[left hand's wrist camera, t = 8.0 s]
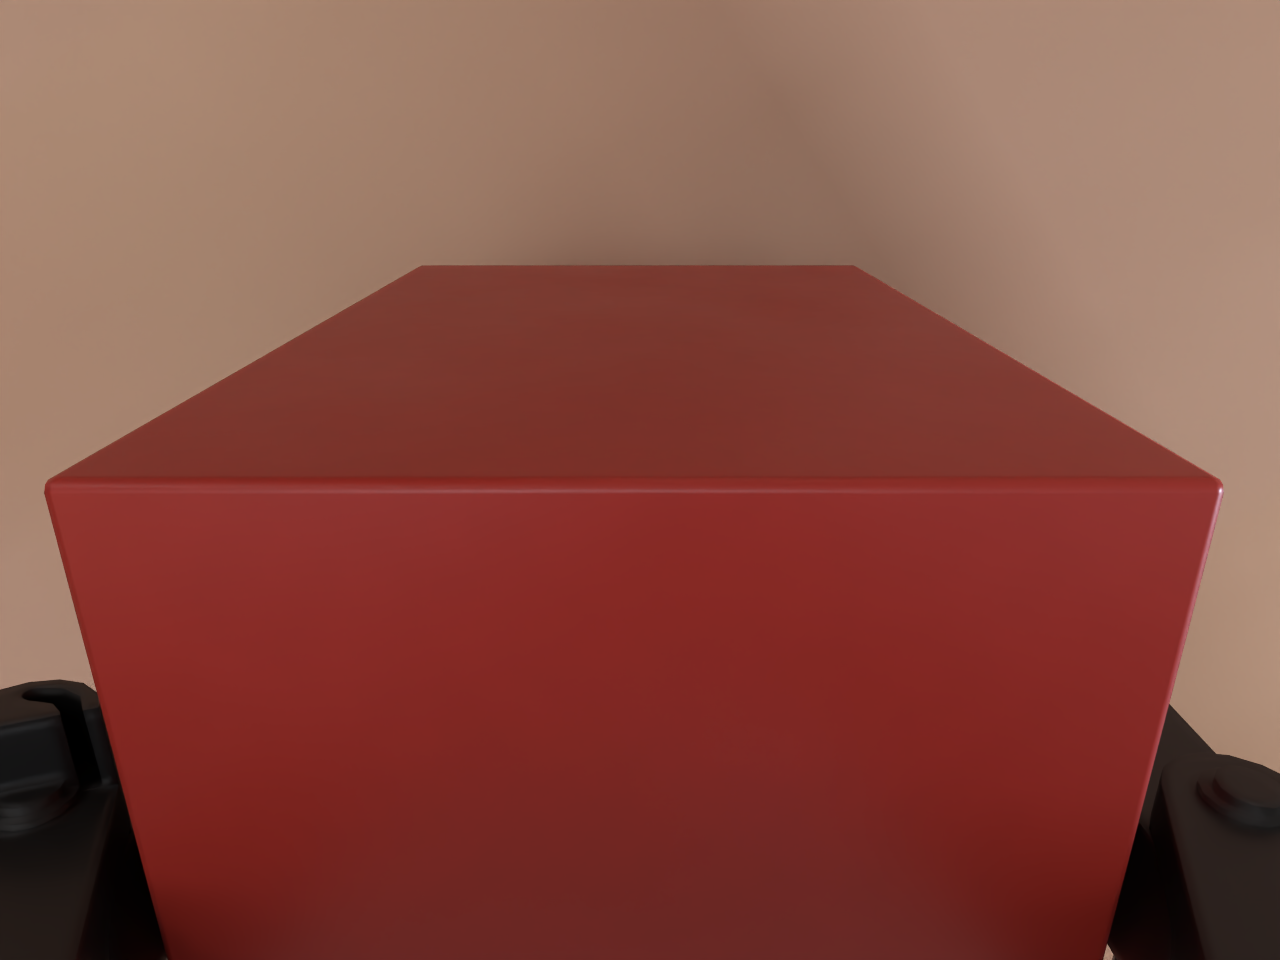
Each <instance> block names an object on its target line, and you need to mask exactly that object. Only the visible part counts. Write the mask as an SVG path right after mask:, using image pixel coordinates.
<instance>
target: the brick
mask: <svg viewBox="0 0 1280 960" xmlns="http://www.w3.org/2000/svg"><path fill="white" fill-rule="evenodd" d="M1223 493H1224V491H1223V484H1222V482H1221V481H1220V479H1218V478H1216V477H1214V476H1213V475H1211V474H1209V473H1208V472H1206V471H1204V470H1202V469H1201V468H1199V467H1197V466H1196V465H1194V464H1192V463H1191V462H1189V461H1187V460H1185V459H1184V458H1182V457H1180V456H1179V455H1177V454H1175V453H1173V452H1172V451H1170V450H1168V449H1167V448H1165V447H1163V446H1161V445H1160V444H1158V443H1156V442H1155V441H1153V440H1151V439H1150V438H1148V437H1146V436H1144V435H1143V434H1141V433H1139V432H1138V431H1136V430H1134V429H1132V428H1131V427H1129V426H1127V425H1126V424H1124V423H1122V422H1120V421H1119V420H1117V419H1115V418H1114V417H1112V416H1110V415H1109V414H1107V413H1105V412H1103V411H1102V410H1100V409H1098V408H1097V407H1095V406H1093V405H1091V404H1090V403H1088V402H1086V401H1085V400H1083V399H1081V398H1080V397H1078V396H1076V395H1074V394H1073V393H1071V392H1069V391H1068V390H1066V389H1064V388H1062V387H1061V386H1059V385H1057V384H1056V383H1054V382H1052V381H1050V380H1049V379H1047V378H1045V377H1044V376H1042V375H1040V374H1039V373H1037V372H1035V371H1033V370H1032V369H1030V368H1028V367H1027V366H1025V365H1023V364H1021V363H1020V362H1018V361H1016V360H1015V359H1013V358H1011V357H1009V356H1008V355H1006V354H1004V353H1003V352H1001V351H999V350H998V349H996V348H994V347H992V346H991V345H989V344H987V343H986V342H984V341H982V340H980V339H979V338H977V337H975V336H974V335H972V334H970V333H968V332H967V331H965V330H963V329H962V328H960V327H958V326H957V325H955V324H953V323H951V322H950V321H948V320H946V319H945V318H943V317H941V316H939V315H938V314H936V313H934V312H933V311H931V310H929V309H928V308H926V307H924V306H922V305H921V304H919V303H917V302H916V301H914V300H912V299H910V298H909V297H907V296H905V295H904V294H902V293H900V292H898V291H897V290H895V289H893V288H892V287H890V286H888V285H887V284H885V283H883V282H881V281H880V280H878V279H876V278H875V277H873V276H871V275H869V274H868V273H866V272H864V271H863V270H861V269H859V268H857V267H855V266H420V267H418V268H416V269H415V270H413V271H411V272H409V273H408V274H406V275H404V276H402V277H401V278H399V279H397V280H395V281H394V282H392V283H390V284H388V285H387V286H385V287H383V288H381V289H380V290H378V291H376V292H374V293H373V294H371V295H369V296H367V297H366V298H364V299H362V300H361V301H359V302H357V303H355V304H354V305H352V306H350V307H348V308H347V309H345V310H343V311H341V312H340V313H338V314H336V315H334V316H333V317H331V318H329V319H327V320H326V321H324V322H322V323H320V324H319V325H317V326H315V327H313V328H312V329H310V330H308V331H307V332H305V333H303V334H301V335H300V336H298V337H296V338H294V339H293V340H291V341H289V342H287V343H286V344H284V345H282V346H280V347H279V348H277V349H275V350H273V351H272V352H270V353H268V354H266V355H265V356H263V357H261V358H259V359H258V360H256V361H254V362H252V363H251V364H249V365H247V366H246V367H244V368H242V369H240V370H239V371H237V372H235V373H233V374H232V375H230V376H228V377H226V378H225V379H223V380H221V381H219V382H218V383H216V384H214V385H212V386H211V387H209V388H207V389H205V390H204V391H202V392H200V393H198V394H197V395H195V396H193V397H192V398H190V399H188V400H186V401H185V402H183V403H181V404H179V405H178V406H176V407H174V408H172V409H171V410H169V411H167V412H165V413H164V414H162V415H160V416H158V417H157V418H155V419H153V420H151V421H150V422H148V423H146V424H144V425H143V426H141V427H139V428H138V429H136V430H134V431H132V432H131V433H129V434H127V435H125V436H124V437H122V438H120V439H118V440H117V441H115V442H113V443H111V444H110V445H108V446H106V447H104V448H103V449H101V450H99V451H97V452H96V453H94V454H92V455H90V456H89V457H87V458H85V459H84V460H82V461H80V462H78V463H77V464H75V465H73V466H71V467H70V468H68V469H66V470H64V471H63V472H61V473H59V474H57V475H56V476H54V477H52V478H50V479H49V480H48V481H47V483H46V484H45V491H44V494H45V497H46V501H47V505H48V509H49V513H50V516H51V520H52V524H53V528H54V532H55V535H56V539H57V543H58V547H59V550H60V554H61V558H62V562H63V566H64V569H65V573H66V577H67V581H68V585H69V588H70V592H71V596H72V600H73V603H74V607H75V611H76V615H77V619H78V622H79V626H80V630H81V634H82V638H83V641H84V645H85V649H86V653H87V656H88V660H89V664H90V668H91V672H92V675H93V679H94V683H95V687H96V691H97V694H98V698H99V702H100V706H101V709H102V713H103V717H104V721H105V725H106V728H107V732H108V736H109V740H110V744H111V747H112V751H113V755H114V759H115V763H116V766H117V770H118V774H119V778H120V781H121V785H122V789H123V793H124V797H125V800H126V804H127V808H128V812H129V816H130V819H131V823H132V827H133V831H134V834H135V838H136V842H137V846H138V850H139V853H140V857H141V861H142V865H143V869H144V872H145V876H146V880H147V884H148V887H149V891H150V895H151V899H152V903H153V906H154V910H155V914H156V918H157V922H158V925H159V929H160V933H161V937H162V940H163V944H164V948H165V952H166V956H167V959H168V960H1103V957H1104V954H1105V950H1106V946H1107V942H1108V938H1109V934H1110V930H1111V926H1112V923H1113V919H1114V915H1115V911H1116V907H1117V903H1118V899H1119V896H1120V892H1121V888H1122V884H1123V880H1124V876H1125V872H1126V868H1127V865H1128V861H1129V857H1130V853H1131V849H1132V845H1133V841H1134V838H1135V834H1136V830H1137V826H1138V822H1139V818H1140V814H1141V811H1142V807H1143V803H1144V799H1145V795H1146V791H1147V787H1148V783H1149V780H1150V776H1151V772H1152V768H1153V764H1154V760H1155V756H1156V753H1157V749H1158V745H1159V741H1160V737H1161V733H1162V729H1163V725H1164V722H1165V718H1166V714H1167V710H1168V706H1169V702H1170V698H1171V695H1172V691H1173V687H1174V683H1175V679H1176V675H1177V671H1178V667H1179V664H1180V660H1181V656H1182V652H1183V648H1184V644H1185V640H1186V637H1187V633H1188V629H1189V625H1190V621H1191V617H1192V613H1193V609H1194V606H1195V602H1196V598H1197V594H1198V590H1199V586H1200V582H1201V579H1202V575H1203V571H1204V567H1205V563H1206V559H1207V555H1208V551H1209V548H1210V544H1211V540H1212V536H1213V532H1214V528H1215V524H1216V521H1217V517H1218V513H1219V509H1220V505H1221V501H1222V497H1223Z"/></svg>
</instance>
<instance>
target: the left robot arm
mask: <svg viewBox="0 0 1280 960" xmlns="http://www.w3.org/2000/svg"><path fill="white" fill-rule="evenodd" d="M1107 944H1108V946H1109V947H1110V949H1111V951H1112V952H1113V954H1114V955H1113V959H1112V960H1280V774H1279V773H1277V772H1275V771H1273V770H1271V769H1269V768H1267V767H1265V766H1263V765H1260V764H1257V763H1254V762H1250V761H1247V760H1243V759H1240V758H1237V757H1233V756H1230V755H1221V754H1216V753H1215V752H1214V751H1213V750H1212V749H1211V748H1210V747H1209V746H1208V745H1207V744H1206V743H1205V742H1204V741H1203V739H1202V738H1201V737H1200V736H1199V735H1198V734H1197V733H1196V732H1195V731H1194V730H1193V729H1192V728H1191V727H1190V726H1189V725H1188V723H1187V722H1186V721H1185V720H1184V719H1183V718H1182V717H1181V716H1180V715H1179V714H1178V713H1177V712H1176V711H1175V710H1174V709H1173V707H1172V706H1171V705H1170V704H1169V706H1168V710H1167V714H1166V718H1165V722H1164V725H1163V729H1162V733H1161V737H1160V741H1159V745H1158V749H1157V753H1156V756H1155V760H1154V764H1153V768H1152V772H1151V776H1150V780H1149V783H1148V787H1147V791H1146V795H1145V799H1144V803H1143V807H1142V811H1141V814H1140V818H1139V822H1138V826H1137V830H1136V834H1135V838H1134V841H1133V845H1132V849H1131V853H1130V857H1129V861H1128V865H1127V868H1126V872H1125V876H1124V880H1123V884H1122V888H1121V892H1120V896H1119V899H1118V903H1117V907H1116V911H1115V915H1114V919H1113V923H1112V926H1111V930H1110V934H1109V938H1108V942H1107ZM0 960H168V959H167V956H166V952H165V948H164V944H163V940H162V937H161V933H160V929H159V925H158V922H157V918H156V914H155V910H154V906H153V903H152V899H151V895H150V891H149V887H148V884H147V880H146V876H145V872H144V869H143V865H142V861H141V857H140V853H139V850H138V846H137V842H136V838H135V834H134V831H133V827H132V823H131V819H130V816H129V812H128V808H127V804H126V800H125V797H124V793H123V789H122V785H121V781H120V778H119V774H118V770H117V766H116V763H115V759H114V755H113V751H112V747H111V744H110V740H109V736H108V732H107V728H106V725H105V721H104V717H103V713H102V709H101V706H100V702H99V698H98V694H97V692H96V691H94V690H93V689H91V688H90V687H88V686H87V685H86V684H84V683H80V682H73V681H66V680H49V681H38V682H28V683H24V684H20V685H17V686H13V687H9V688H5V689H1V690H0Z"/></svg>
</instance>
